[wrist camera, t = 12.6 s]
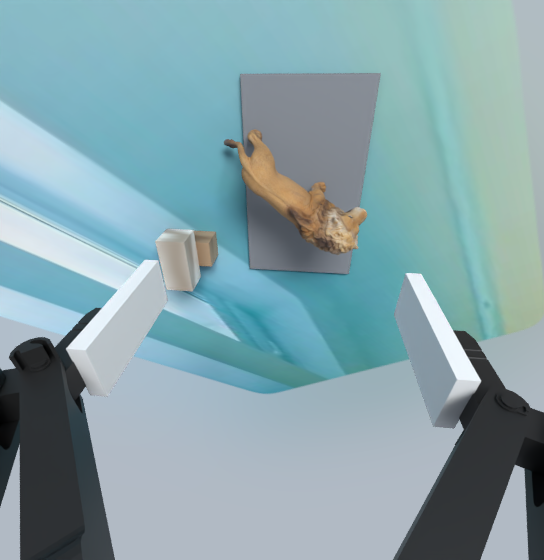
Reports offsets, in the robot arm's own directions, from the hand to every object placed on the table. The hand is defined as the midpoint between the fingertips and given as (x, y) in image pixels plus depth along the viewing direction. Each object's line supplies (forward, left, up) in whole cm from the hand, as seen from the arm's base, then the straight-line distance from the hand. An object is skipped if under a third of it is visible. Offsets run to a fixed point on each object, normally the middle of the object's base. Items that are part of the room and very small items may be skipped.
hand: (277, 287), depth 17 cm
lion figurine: (0, +1, -19) cm, 19 cm away
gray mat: (+1, 0, -19) cm, 19 cm away
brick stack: (-12, -7, -19) cm, 24 cm away
